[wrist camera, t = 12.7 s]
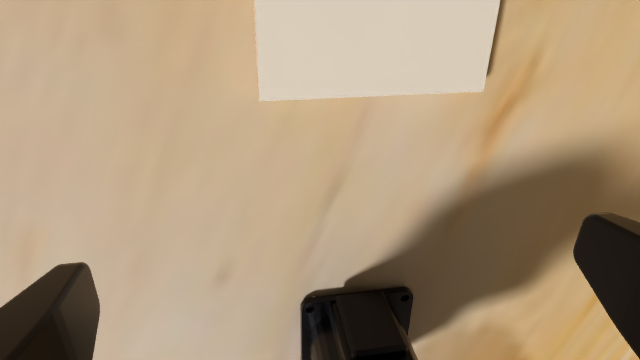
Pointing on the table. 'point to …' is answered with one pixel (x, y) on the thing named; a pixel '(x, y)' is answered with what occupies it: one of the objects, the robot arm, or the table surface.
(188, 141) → the table surface
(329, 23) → the stone coaster
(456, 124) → the table surface
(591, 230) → the robot arm
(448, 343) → the table surface
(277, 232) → the table surface
